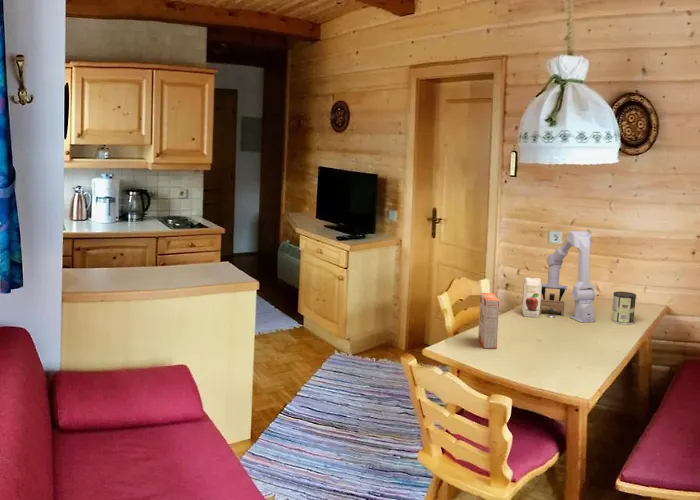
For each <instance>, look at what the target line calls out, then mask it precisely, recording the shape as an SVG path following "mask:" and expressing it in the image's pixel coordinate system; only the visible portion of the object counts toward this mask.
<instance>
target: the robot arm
mask: <svg viewBox="0 0 700 500" xmlns="http://www.w3.org/2000/svg"><path fill="white" fill-rule="evenodd" d="M572 247H574V248H576V249H577V251H578V253H577V254H578V255H577V256H578V259H577V261H578V264H577V267H578V268H577V282H576V283H575V284H574V285H572V286H573V289H572V292H571V298H572V299H573V301H574V312H573V316H570V317H569V318H571V319H572V320H575V321H576V322H579V323H591V322H596V321H595V320H594V319H595V318H594V317H595V307H594V305H592V304H591V303H593V301H594V300H595V298H596V292H595V291H596V290H595V285H593V284H592V283H591V282H590V263H591V261H590V259H591V258H590V257H591V247H592V234H591V233H590V232H589V231H588V230H569V231H568V233H567V234H566V240H565V241H564V243H563V244H562V245H560V246H558V247H557V248H556V250H555V251H554V252H553V253H551V254H548V255H547V258H546V263H547V265H548V270H547V271H548V273H547V283H541V284H542V289H541V296H542V298H543V299H542V300H546V289H549V290H559V295H558V301H562V297H563V296H564V295H565V291H568V286H567V285H561V284H560V271H561V269H562V265H563V263H564V261H563V260H564V259H565V257H566V256H567V255H568V253H569V250H570V248H572Z"/></svg>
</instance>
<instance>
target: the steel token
mask: <svg viewBox="0 0 700 500" xmlns="http://www.w3.org/2000/svg"><path fill="white" fill-rule="evenodd" d="M546 317H547V318H549V319H556V315H554V314H546Z"/></svg>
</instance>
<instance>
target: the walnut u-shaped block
mask: <svg viewBox="0 0 700 500" xmlns="http://www.w3.org/2000/svg"><path fill="white" fill-rule="evenodd" d="M565 306H566V305H565V301H562V300H560V301H559V300H554V301H553V300H549V299H545V300H543V299H541V303H540V313H539V315H542V311H543V310H545V311H548V310H554V312H555V311H557V312H560V316H561V317H564V315H565Z"/></svg>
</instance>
